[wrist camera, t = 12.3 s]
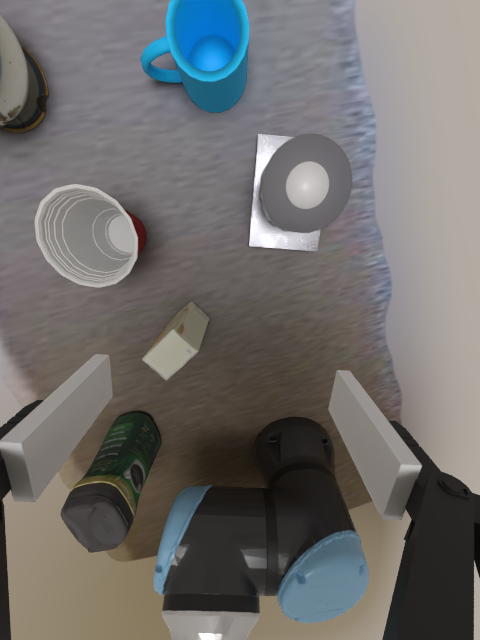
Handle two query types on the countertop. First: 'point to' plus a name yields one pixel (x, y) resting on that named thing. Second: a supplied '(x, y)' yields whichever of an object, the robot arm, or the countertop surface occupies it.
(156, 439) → the coffee jar
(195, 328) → the skincare box
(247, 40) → the mug
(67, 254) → the plastic cup
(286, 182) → the cap
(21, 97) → the apothecary jar
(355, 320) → the countertop surface
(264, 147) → the gray flat-based fixture
